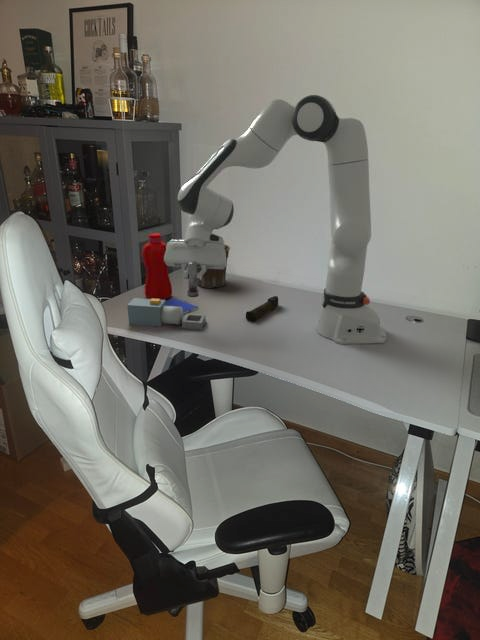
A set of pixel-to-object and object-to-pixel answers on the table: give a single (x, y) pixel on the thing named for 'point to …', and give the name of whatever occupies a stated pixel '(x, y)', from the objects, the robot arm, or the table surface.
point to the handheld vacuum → (161, 314)
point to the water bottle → (156, 269)
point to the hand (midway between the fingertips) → (192, 278)
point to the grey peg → (192, 279)
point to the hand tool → (262, 309)
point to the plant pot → (213, 275)
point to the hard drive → (181, 305)
